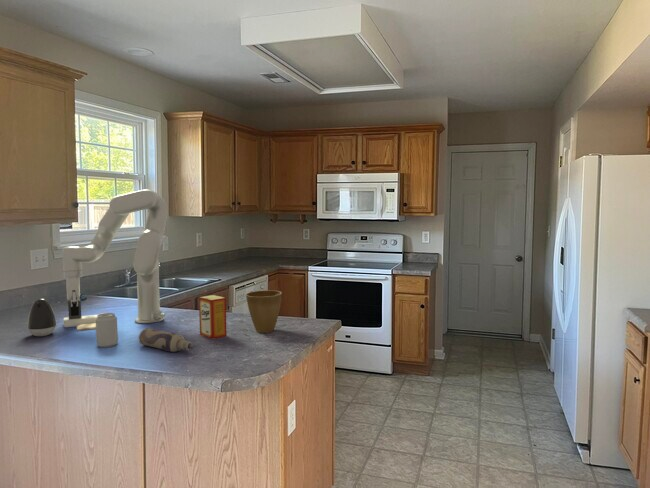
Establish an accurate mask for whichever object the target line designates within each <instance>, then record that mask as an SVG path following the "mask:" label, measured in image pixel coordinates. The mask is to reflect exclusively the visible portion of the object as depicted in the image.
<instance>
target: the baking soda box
mask: <svg viewBox="0 0 650 488" xmlns="http://www.w3.org/2000/svg"><path fill="white" fill-rule="evenodd" d="M226 300H227V299H226V297H223V296H219V295H215V294H212V295H211V294H210V295H203V296H199V297H198V309H199V310H198V311H199V313H198V315H199V316H198V317H199V335H200V336H202V337H205V338H209V339H211V340H215V339H216V340H217V339H220V338H223V337H227V336H228V334H227V333H228V332H227V301H226Z"/></svg>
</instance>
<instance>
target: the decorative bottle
mask: <svg viewBox="0 0 650 488" xmlns="http://www.w3.org/2000/svg"><path fill="white" fill-rule="evenodd" d="M138 341H139V343H140V344H141V345H142V346H146V347H151V348H155V349H160V350H162V351H166V352H170V353H177V352H180V351H183V350H184V351H185V350H187V351H189V350H190V351H191V350H194V349H195V347H196V346H195V345H194V343H192V341H191V342H190V341H188V340H187V339H185V337H183V335H181V334H177V333H173V332H170V331H163V330H158V329H153V328H150V327H148V328H144V329H142V330H141V331H140V333H139V335H138Z"/></svg>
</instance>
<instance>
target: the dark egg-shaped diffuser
mask: <svg viewBox="0 0 650 488" xmlns="http://www.w3.org/2000/svg"><path fill="white" fill-rule="evenodd" d="M27 318H28V320H27V329H28V330H29V333H30V335H33V336H35V337H47V336H49V335H51V334H52V333H53V332H54V330H55V329H56V326H57V321H56V316H55V313H54V310H53V307H52V306H51V303H50V302H49V301H48V300H47V299H45V298H38V299H36V300H35V301H34V302H33V303H32V305H31V308H30V310H29V313H28V317H27Z"/></svg>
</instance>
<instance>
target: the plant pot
mask: <svg viewBox="0 0 650 488" xmlns="http://www.w3.org/2000/svg"><path fill="white" fill-rule="evenodd" d="M245 297H246V302H247V308H248V313H249V315H250V318H251V321H252V324H253V326H254V329H255V331H256V333H264V334H265V333H271V332H274V330H275V328H276V325H277V322H278V318H279V313H280V309H281V303H282V291H279V290H271V289H270V290H269V289H268V290H255V291H250V292H247V293H246V294H245Z"/></svg>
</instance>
